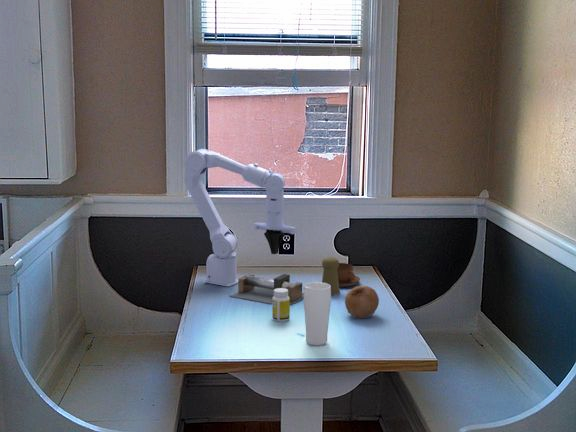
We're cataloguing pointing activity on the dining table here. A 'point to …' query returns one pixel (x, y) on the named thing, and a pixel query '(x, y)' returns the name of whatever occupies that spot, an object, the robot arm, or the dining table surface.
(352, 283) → the cup and saucer
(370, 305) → the onion
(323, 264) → the cork
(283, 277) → the dark grey upright slab
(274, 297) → the supplement bottle
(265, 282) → the rod holder
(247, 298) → the mat
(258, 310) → the dining table surface
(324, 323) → the drinking glass
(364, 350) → the dining table surface
